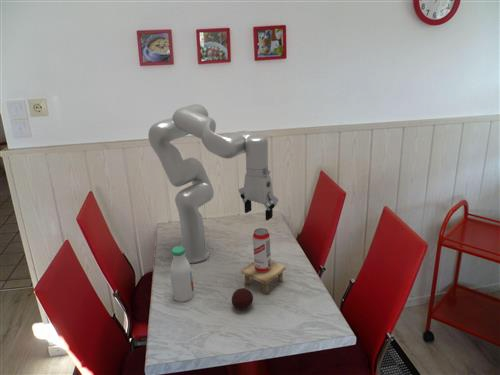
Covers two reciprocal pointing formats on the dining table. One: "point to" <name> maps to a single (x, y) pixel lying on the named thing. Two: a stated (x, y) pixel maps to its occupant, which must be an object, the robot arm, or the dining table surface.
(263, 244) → the beer can
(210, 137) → the robot arm
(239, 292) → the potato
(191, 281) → the milk bottle
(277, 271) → the stool
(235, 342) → the dining table surface
